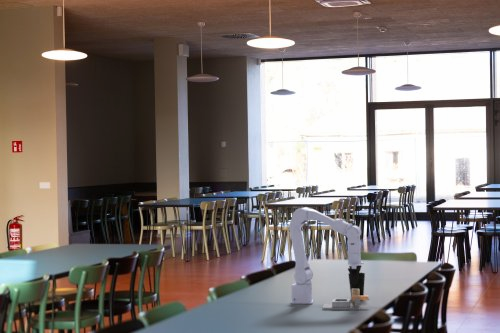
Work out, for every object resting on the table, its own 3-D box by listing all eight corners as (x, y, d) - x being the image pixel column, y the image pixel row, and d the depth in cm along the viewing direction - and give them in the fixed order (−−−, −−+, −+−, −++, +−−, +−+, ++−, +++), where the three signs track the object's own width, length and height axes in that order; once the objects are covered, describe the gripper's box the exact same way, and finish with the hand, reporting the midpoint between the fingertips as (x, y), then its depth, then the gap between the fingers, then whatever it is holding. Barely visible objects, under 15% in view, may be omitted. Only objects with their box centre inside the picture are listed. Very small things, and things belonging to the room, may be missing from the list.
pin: (352, 299, 350) (352, 296, 350) (352, 299, 352) (352, 295, 352) (368, 299, 349) (368, 296, 349) (368, 299, 351) (368, 295, 351)
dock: (322, 309, 348) (322, 298, 348) (324, 305, 358) (324, 294, 358) (359, 310, 346) (358, 298, 346) (360, 305, 355) (359, 294, 355)
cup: (353, 301, 368) (352, 275, 368) (346, 298, 375) (345, 273, 375) (368, 299, 370) (367, 274, 370) (361, 297, 377) (360, 272, 377)
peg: (351, 305, 357) (351, 289, 357) (352, 303, 361) (351, 288, 361) (359, 305, 357) (359, 289, 357) (360, 303, 360) (359, 288, 360)
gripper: (362, 254, 351) (363, 285, 351) (363, 250, 365) (364, 280, 365) (346, 254, 352) (347, 285, 352) (348, 250, 366) (349, 280, 366)
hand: (355, 282), depth 359 cm, fingers open, 7 cm apart
